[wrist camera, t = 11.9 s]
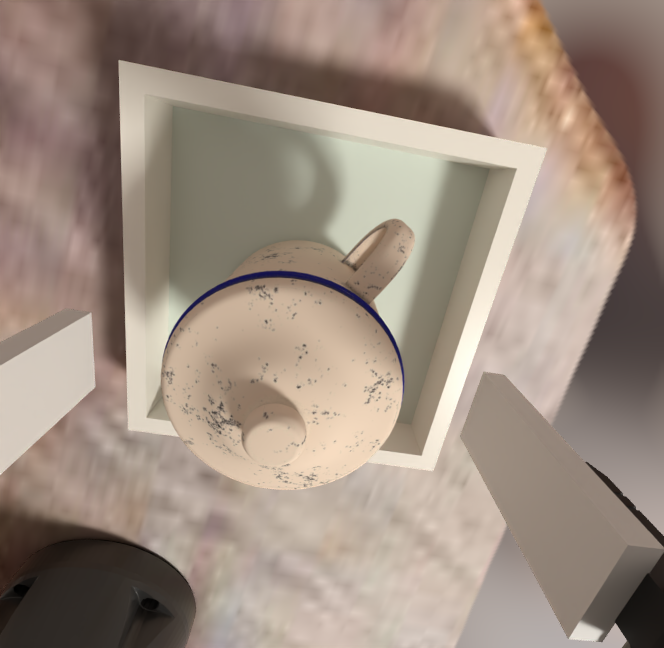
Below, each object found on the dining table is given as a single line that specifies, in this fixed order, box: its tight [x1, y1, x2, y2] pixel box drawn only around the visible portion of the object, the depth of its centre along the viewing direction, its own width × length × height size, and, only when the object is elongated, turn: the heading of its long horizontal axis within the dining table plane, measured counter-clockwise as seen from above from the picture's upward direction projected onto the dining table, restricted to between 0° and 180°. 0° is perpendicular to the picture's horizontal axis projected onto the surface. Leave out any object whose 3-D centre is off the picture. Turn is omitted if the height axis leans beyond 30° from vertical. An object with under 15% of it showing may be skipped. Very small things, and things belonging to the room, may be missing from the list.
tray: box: [119, 60, 547, 471], centre depth 21 cm, size 18×18×4 cm
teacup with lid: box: [161, 219, 415, 490], centre depth 16 cm, size 12×9×12 cm
